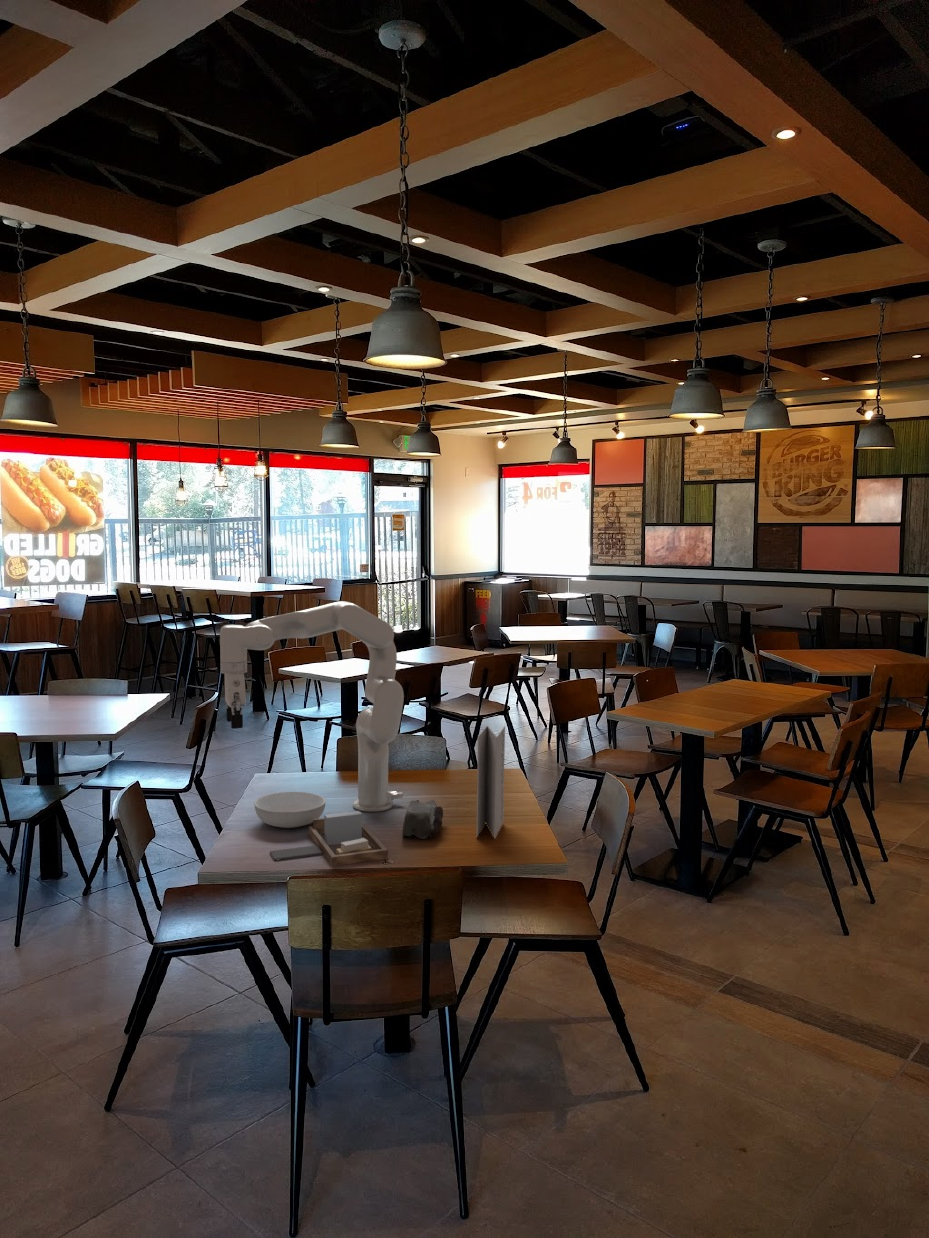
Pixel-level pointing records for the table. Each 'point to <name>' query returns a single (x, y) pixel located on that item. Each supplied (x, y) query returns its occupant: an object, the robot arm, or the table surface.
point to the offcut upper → (354, 844)
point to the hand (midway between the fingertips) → (234, 724)
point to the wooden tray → (349, 858)
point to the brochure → (490, 780)
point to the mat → (296, 852)
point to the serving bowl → (289, 808)
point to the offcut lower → (339, 851)
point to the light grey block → (342, 827)
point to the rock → (422, 819)
